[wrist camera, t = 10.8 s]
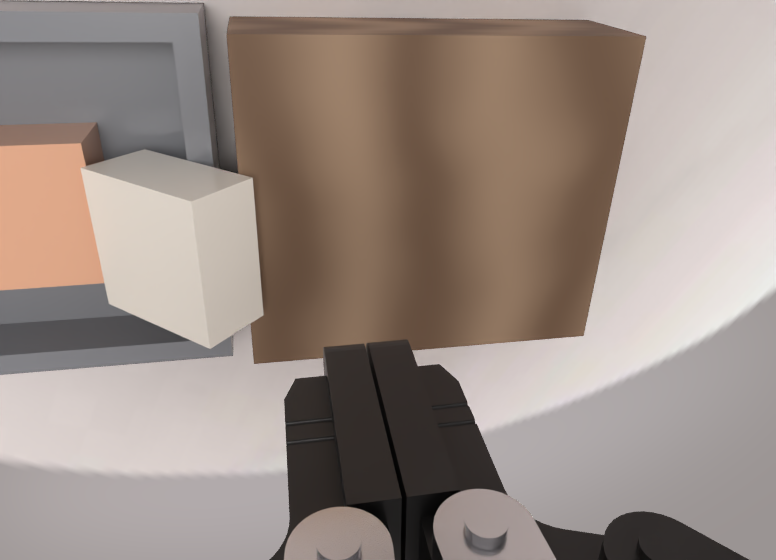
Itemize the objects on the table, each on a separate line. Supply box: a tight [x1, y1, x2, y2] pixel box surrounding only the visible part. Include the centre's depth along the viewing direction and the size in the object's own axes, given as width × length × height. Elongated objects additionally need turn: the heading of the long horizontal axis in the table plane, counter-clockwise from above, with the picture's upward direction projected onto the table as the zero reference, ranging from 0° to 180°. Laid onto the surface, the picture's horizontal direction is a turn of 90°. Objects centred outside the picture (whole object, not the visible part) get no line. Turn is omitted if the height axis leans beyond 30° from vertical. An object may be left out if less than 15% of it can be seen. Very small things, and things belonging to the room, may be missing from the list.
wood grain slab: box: [227, 17, 646, 364], centre depth 29 cm, size 16×14×5 cm
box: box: [0, 0, 234, 375], centre depth 27 cm, size 14×15×4 cm
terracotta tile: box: [0, 122, 104, 290], centre depth 27 cm, size 6×6×3 cm
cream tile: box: [80, 149, 263, 349], centre depth 26 cm, size 6×6×3 cm
